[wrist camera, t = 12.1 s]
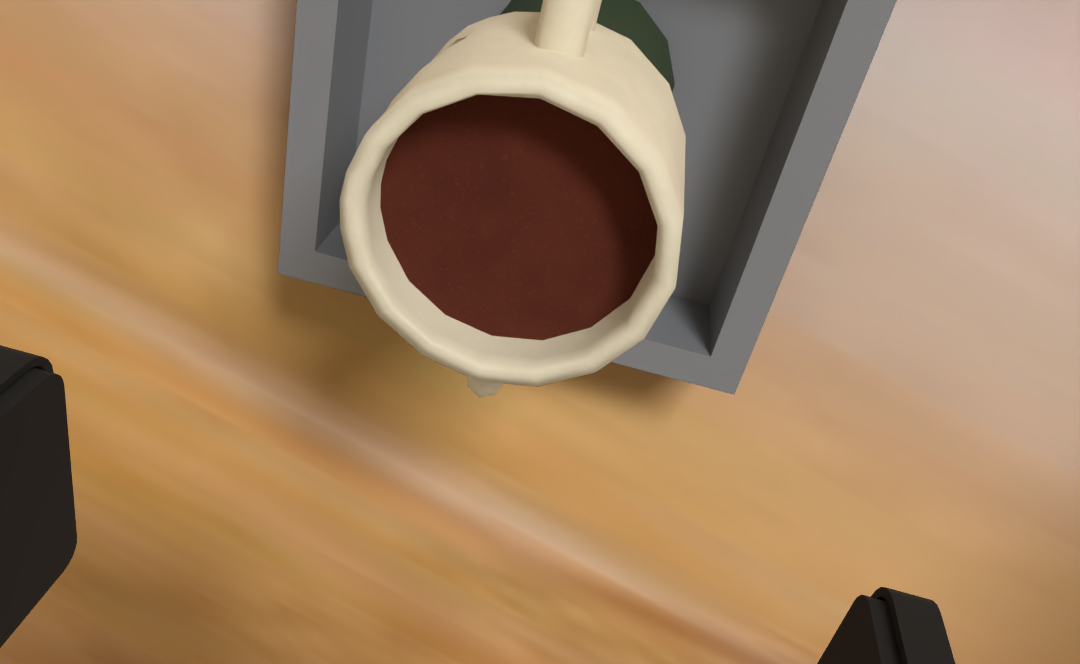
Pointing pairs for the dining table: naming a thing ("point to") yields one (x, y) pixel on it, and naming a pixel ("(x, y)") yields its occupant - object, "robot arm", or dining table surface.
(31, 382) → the robot arm
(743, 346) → the grey tray
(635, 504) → the dining table surface
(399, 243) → the character mug
